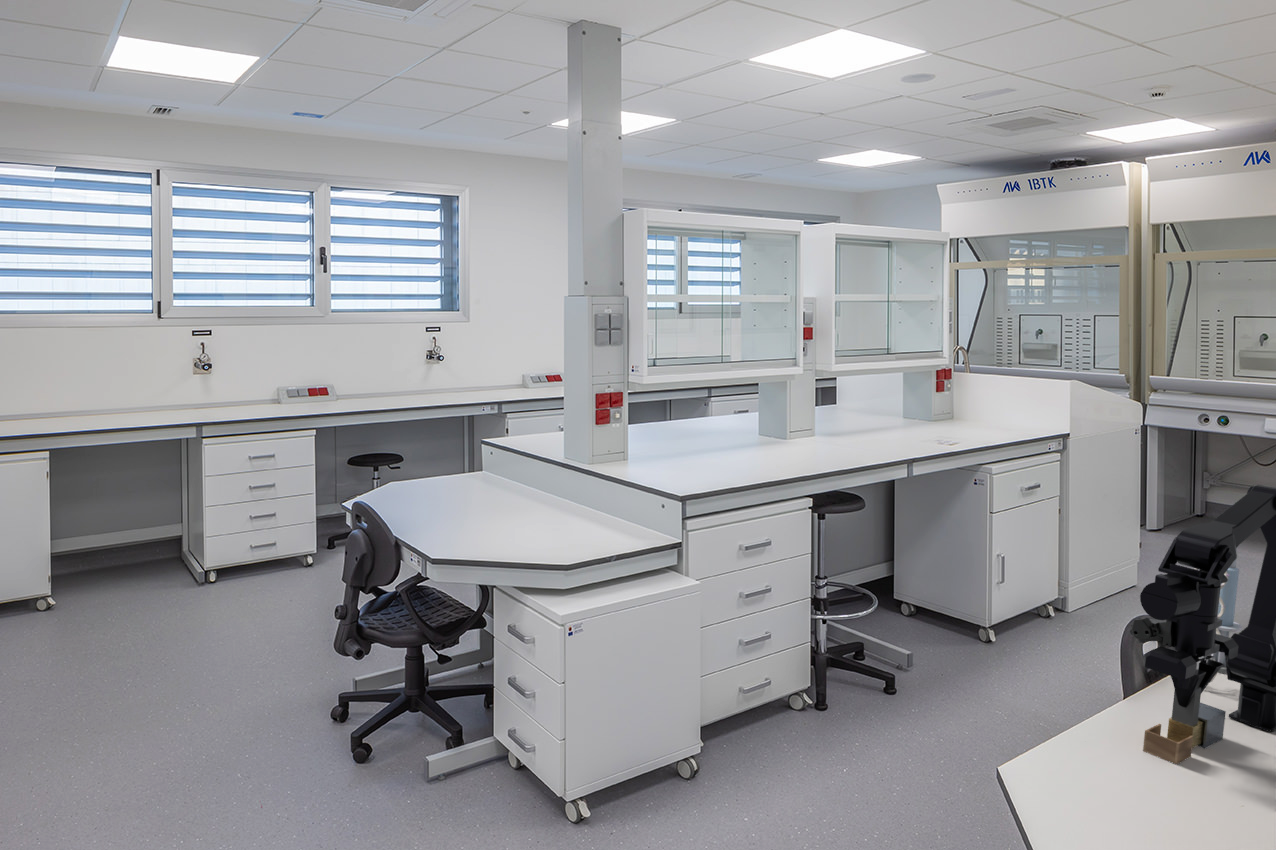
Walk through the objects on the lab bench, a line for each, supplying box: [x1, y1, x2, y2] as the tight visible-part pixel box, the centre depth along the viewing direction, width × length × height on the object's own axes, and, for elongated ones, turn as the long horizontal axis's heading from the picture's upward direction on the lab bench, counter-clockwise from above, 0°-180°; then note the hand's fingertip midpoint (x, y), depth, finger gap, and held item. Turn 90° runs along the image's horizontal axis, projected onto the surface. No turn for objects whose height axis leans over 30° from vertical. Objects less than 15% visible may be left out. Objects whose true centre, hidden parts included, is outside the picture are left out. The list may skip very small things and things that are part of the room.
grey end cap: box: [1197, 702, 1227, 749], centre depth 141 cm, size 6×5×5 cm
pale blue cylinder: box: [1212, 547, 1243, 674], centre depth 170 cm, size 5×6×35 cm
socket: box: [1142, 723, 1193, 765], centre depth 136 cm, size 5×5×3 cm
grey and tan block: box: [1166, 687, 1206, 749], centre depth 140 cm, size 9×4×10 cm, turn 123°
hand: (1186, 704), depth 138 cm, fingers closed on grey and tan block, 2 cm apart
